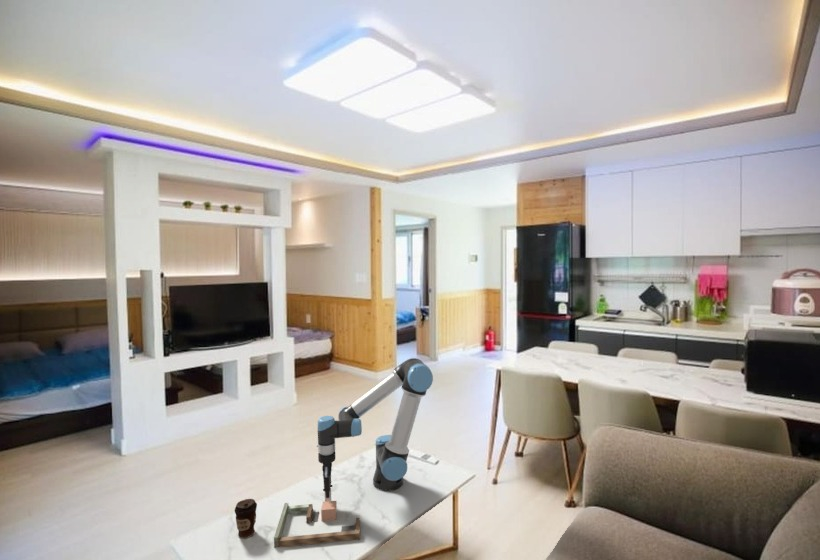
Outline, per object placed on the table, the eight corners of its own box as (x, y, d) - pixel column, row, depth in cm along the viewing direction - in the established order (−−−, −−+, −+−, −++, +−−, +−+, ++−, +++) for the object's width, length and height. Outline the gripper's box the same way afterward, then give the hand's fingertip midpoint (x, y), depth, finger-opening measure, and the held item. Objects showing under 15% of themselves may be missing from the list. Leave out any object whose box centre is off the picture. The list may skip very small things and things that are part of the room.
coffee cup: (249, 542, 163) (248, 510, 162) (230, 540, 164) (229, 508, 164) (261, 528, 171) (260, 498, 170) (243, 526, 173) (242, 496, 172)
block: (336, 511, 182) (336, 500, 182) (335, 520, 176) (335, 508, 176) (323, 512, 181) (322, 501, 181) (321, 521, 175) (321, 509, 175)
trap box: (359, 505, 186) (359, 496, 186) (359, 539, 163) (359, 529, 163) (285, 511, 182) (284, 503, 182) (274, 547, 159) (273, 537, 159)
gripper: (319, 445, 190) (321, 495, 191) (316, 459, 177) (318, 512, 178) (336, 444, 190) (337, 494, 192) (334, 458, 178) (335, 511, 179)
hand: (328, 502), depth 185 cm, fingers closed
